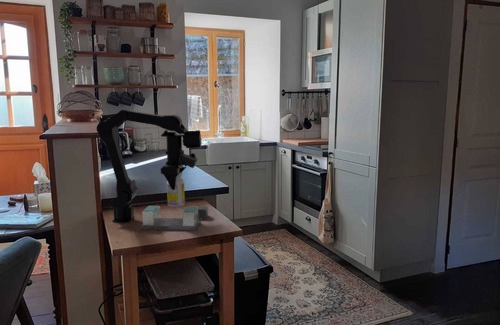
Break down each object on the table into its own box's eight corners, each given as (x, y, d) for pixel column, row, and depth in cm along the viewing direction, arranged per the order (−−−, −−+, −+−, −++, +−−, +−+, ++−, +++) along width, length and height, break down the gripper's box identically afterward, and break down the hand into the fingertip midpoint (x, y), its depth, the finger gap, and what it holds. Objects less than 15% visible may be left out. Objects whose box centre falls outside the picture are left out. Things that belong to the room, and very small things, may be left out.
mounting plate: (141, 229, 140) (140, 211, 139) (149, 221, 149) (148, 204, 148) (195, 230, 139) (194, 212, 138) (200, 222, 148) (199, 205, 147)
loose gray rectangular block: (193, 218, 153) (193, 209, 152) (195, 215, 157) (195, 206, 156) (206, 219, 152) (205, 209, 152) (207, 216, 156) (207, 206, 156)
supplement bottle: (180, 201, 155) (179, 170, 153) (187, 205, 150) (186, 173, 148) (165, 204, 152) (163, 172, 150) (171, 208, 146) (170, 175, 144)
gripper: (190, 152, 137) (191, 194, 140) (199, 145, 156) (200, 182, 158) (159, 151, 138) (161, 193, 141) (172, 144, 156) (173, 182, 159)
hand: (175, 187), depth 150 cm, fingers closed on supplement bottle, 7 cm apart
